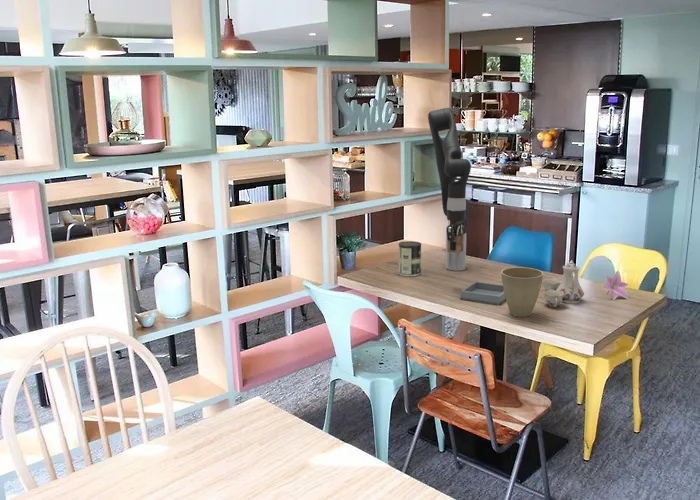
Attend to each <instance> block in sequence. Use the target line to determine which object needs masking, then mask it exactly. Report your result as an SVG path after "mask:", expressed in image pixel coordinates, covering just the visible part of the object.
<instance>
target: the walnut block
mask: <svg viewBox="0 0 700 500" xmlns="http://www.w3.org/2000/svg"><path fill="white" fill-rule="evenodd" d="M463 244H464V234H458V236H456V250H455V251H451V250H450V241H447V252H453V253H460V252H462V251H463Z"/></svg>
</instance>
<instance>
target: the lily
mask: <svg viewBox="0 0 700 500" xmlns="http://www.w3.org/2000/svg"><path fill="white" fill-rule="evenodd" d="M603 275H604V278H605V280H606V283H604V284H603V286H601V289H602V290H605V291H607V292H606V296H607V295H608V294H609V293H611V299H612V301H616V299H617V298H618V296H621V297H622V298H624V299H625V300H630V299H629V295H628V292H627V291H626V290H625V288H627V287H628V285H629V284H628V283H626V282H624V281H622V276H621V273H620V271H619V270H616V272H615V273H614V274H613V275H612V277H611V276H609V275H608V274H603Z"/></svg>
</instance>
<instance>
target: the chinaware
mask: <svg viewBox="0 0 700 500" xmlns="http://www.w3.org/2000/svg"><path fill="white" fill-rule="evenodd" d="M580 268H581V267H580V266H577V265H576V263H574V261H573V260H572V259H571V260H570V261H569V262H567V263H566V265H562V270H563V274H562V275H563V276H562V279H559V278H558V277H557V278H556V277H552V278H549V277H544V278H542V283H541V285H542V288H543V290H542V291H541V294H542V295H543V299H544V301H545V302H546V303H547V306H548V307H550V308H556V307H558V305H559V304H560V303H565V304H578V303H581V299H582V298H583V297H584V295H585V291H584V289H582V287H581V285H580V281H579V271H580Z"/></svg>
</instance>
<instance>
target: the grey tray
mask: <svg viewBox="0 0 700 500" xmlns="http://www.w3.org/2000/svg"><path fill="white" fill-rule="evenodd" d="M459 296H460V297H459V300H463V301H469V302H475V303H480V302H481V304H486V305H495V306H500V305H502V304H503V303H504V302H505V301H506V298H505V293H504V289H503V284H498V283H490V282H484V281H483V282H482V281H477V280H475V281H473V282H472V283H470V284H469V285H467V286H466V287H464V288H462V289H461V290H460V294H459Z"/></svg>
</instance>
